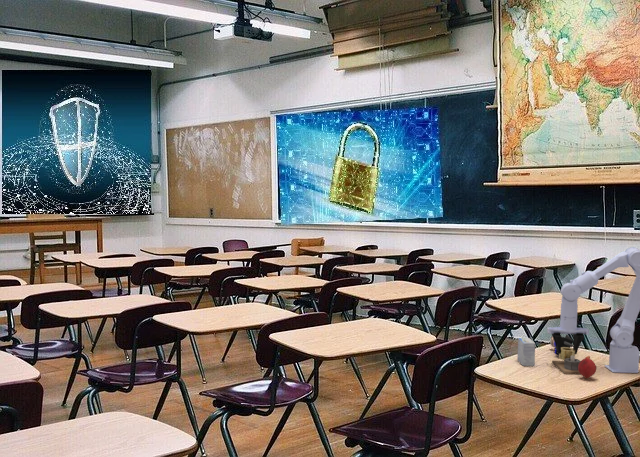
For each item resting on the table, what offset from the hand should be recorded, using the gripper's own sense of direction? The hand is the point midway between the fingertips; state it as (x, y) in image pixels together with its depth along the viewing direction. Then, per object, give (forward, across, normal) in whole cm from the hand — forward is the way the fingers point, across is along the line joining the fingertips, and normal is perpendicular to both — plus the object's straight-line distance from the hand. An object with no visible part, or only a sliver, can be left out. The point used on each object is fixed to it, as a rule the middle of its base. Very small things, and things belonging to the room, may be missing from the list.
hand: (566, 353), depth 269 cm
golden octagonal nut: (+2, 0, 0) cm, 2 cm away
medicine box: (+5, +14, -2) cm, 15 cm away
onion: (+5, -2, +15) cm, 16 cm away
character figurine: (+5, -4, -17) cm, 18 cm away
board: (+5, -1, +4) cm, 6 cm away
